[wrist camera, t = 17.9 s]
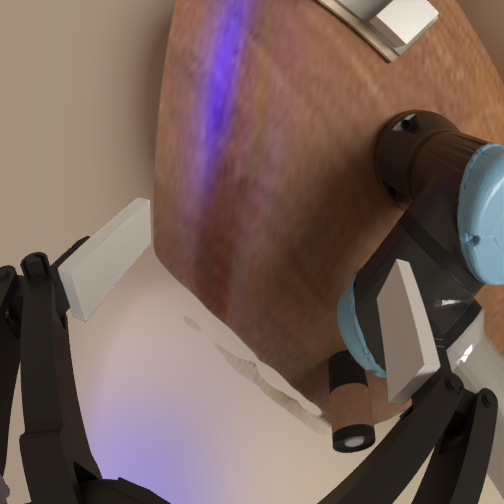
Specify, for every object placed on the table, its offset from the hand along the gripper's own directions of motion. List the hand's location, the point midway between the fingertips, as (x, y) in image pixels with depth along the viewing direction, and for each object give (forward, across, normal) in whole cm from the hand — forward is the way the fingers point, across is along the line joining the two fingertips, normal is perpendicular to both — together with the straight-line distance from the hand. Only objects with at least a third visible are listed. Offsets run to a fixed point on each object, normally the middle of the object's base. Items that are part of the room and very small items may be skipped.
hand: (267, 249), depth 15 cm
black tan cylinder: (+27, +20, -40) cm, 52 cm away
